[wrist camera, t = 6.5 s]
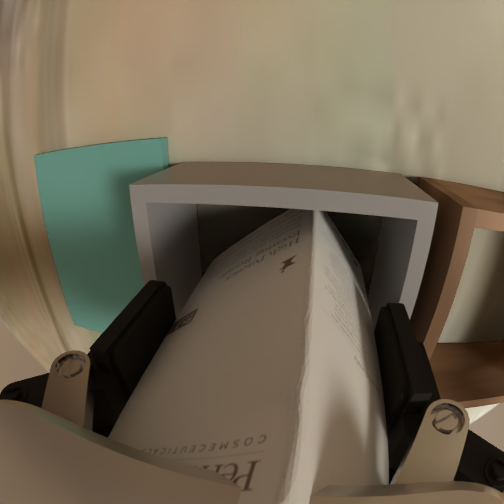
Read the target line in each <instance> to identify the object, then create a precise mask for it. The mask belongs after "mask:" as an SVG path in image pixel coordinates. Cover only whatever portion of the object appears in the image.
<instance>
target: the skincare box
mask: <svg viewBox="0 0 504 504" xmlns="http://www.w3.org/2000/svg"><path fill="white" fill-rule="evenodd" d="M108 438H109V439H112V440H114V441H117V442H119V443H122V444H125V445H127V446H130V447H133V448H136V449H138V450H141V451H144V452H147V453H150V454H153V455H157V456H160V457H163V458H166V459H170V460H173V461H177V462H180V463H184V464H188V465H192V466H196V467H200V468H204V469H208V470H213V471H216V472H217V473H219V474H220V475H222V476H224V477H225V478H227V479H229V480H230V481H232V482H234V483H235V484H237V485H239V486H240V487H242V490H241V494H240V497H239V501H238V504H309V501H310V496H311V495H313V494H314V493H316V492H317V491H319V490H321V489H323V488H324V487H326V486H328V485H340V486H357V485H389V457H388V438H387V425H386V416H385V405H384V396H383V388H382V380H381V373H380V366H379V359H378V353H377V347H376V341H375V335H374V329H373V324H372V318H371V313H370V308H369V303H368V298H367V293H366V289H365V284H364V280H363V275H362V269H361V266H360V264H359V263H358V261H357V259H356V258H355V256H354V254H353V253H352V251H351V250H350V248H349V246H348V245H347V243H346V241H345V240H344V238H343V237H342V235H341V234H340V232H339V230H338V229H337V227H336V226H335V224H334V223H333V221H332V220H331V218H330V217H329V215H328V214H327V212H326V211H318V210H305V209H289V210H287V211H286V212H284V213H282V214H280V215H279V216H277V217H275V218H274V219H272V220H270V221H269V222H267V223H266V224H264V225H262V226H261V227H259V228H258V229H256V230H255V231H253V232H252V233H250V234H249V235H247V236H246V237H244V238H243V239H241V240H240V241H238V242H237V243H235V244H234V245H232V246H231V247H229V248H228V249H227V250H225V251H224V252H223V253H221V254H220V255H219V256H217V257H216V258H215V259H214V260H213V261H212V263H211V264H210V266H209V267H208V269H207V271H206V272H205V274H204V275H203V277H202V278H201V280H200V282H199V283H198V285H197V286H196V288H195V290H194V291H193V293H192V294H191V296H190V298H189V299H188V301H187V303H186V304H185V306H184V307H183V309H182V311H181V312H180V314H179V315H178V317H177V319H176V321H175V322H174V324H173V325H172V327H171V329H170V330H169V332H168V333H167V335H166V336H165V338H164V340H163V342H162V344H161V345H160V347H159V349H158V350H157V352H156V354H155V355H154V357H153V359H152V360H151V362H150V364H149V365H148V367H147V369H146V370H145V372H144V374H143V375H142V377H141V379H140V381H139V382H138V384H137V386H136V388H135V389H134V391H133V393H132V395H131V396H130V398H129V400H128V402H127V403H126V405H125V407H124V409H123V410H122V412H121V414H120V416H119V418H118V420H117V421H116V423H115V425H114V427H113V429H112V431H111V433H110V435H109V437H108Z"/></svg>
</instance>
